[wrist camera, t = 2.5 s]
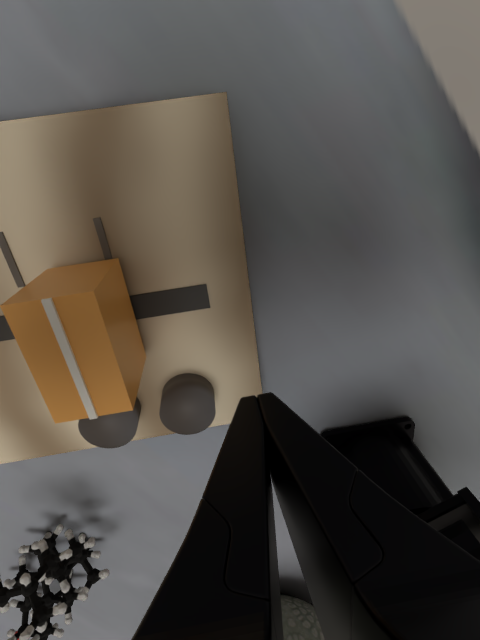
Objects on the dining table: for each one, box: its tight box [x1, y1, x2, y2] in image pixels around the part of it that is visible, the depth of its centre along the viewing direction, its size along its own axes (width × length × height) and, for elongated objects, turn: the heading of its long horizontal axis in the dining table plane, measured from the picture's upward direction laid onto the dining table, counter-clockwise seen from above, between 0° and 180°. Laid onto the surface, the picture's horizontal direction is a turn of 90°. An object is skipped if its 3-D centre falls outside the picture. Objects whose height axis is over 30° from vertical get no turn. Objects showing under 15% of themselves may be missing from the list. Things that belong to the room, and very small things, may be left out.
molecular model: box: [0, 524, 109, 640], centre depth 22 cm, size 6×15×8 cm, turn 157°
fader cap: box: [0, 258, 146, 424], centre depth 14 cm, size 3×5×4 cm, turn 7°
